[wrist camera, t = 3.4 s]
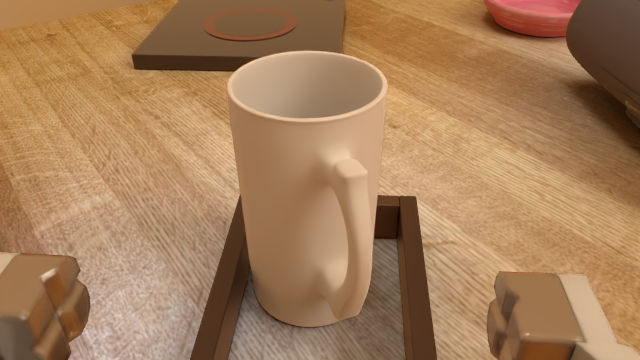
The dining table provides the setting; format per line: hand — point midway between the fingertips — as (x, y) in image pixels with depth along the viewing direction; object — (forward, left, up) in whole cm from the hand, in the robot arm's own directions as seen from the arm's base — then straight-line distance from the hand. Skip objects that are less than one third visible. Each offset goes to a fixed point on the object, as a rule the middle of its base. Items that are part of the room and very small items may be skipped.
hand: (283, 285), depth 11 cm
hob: (-10, +50, -14) cm, 53 cm away
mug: (0, +12, -14) cm, 19 cm away
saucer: (+22, +56, -14) cm, 62 cm away
